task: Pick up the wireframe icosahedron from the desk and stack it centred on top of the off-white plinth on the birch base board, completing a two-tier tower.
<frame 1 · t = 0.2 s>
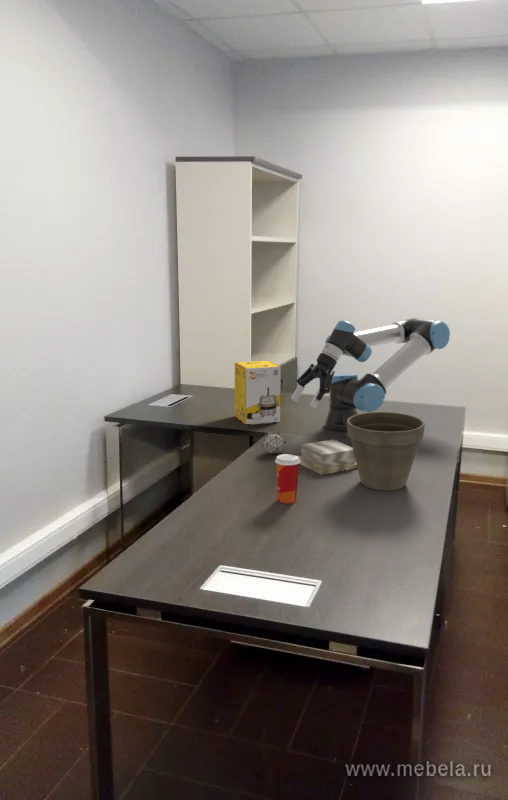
hand: (302, 403, 276), 16 cm above the table, tool tilted 35°, fingers open, 13 cm apart
plant pot: (382, 484, 234), on the table
paper cup: (286, 501, 219), on the table
packaging box: (257, 419, 318), on the table
wireframe icosahedron: (273, 454, 266), on the table
tower base: (328, 464, 255), on the table
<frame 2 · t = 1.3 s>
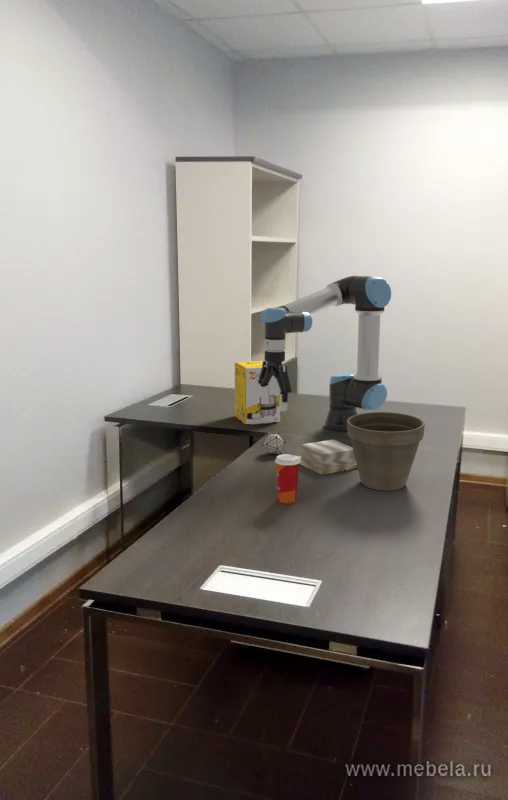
hand: (273, 407, 262), 18 cm above the table, tool pointing down, fingers open, 13 cm apart
nothing on the table moved.
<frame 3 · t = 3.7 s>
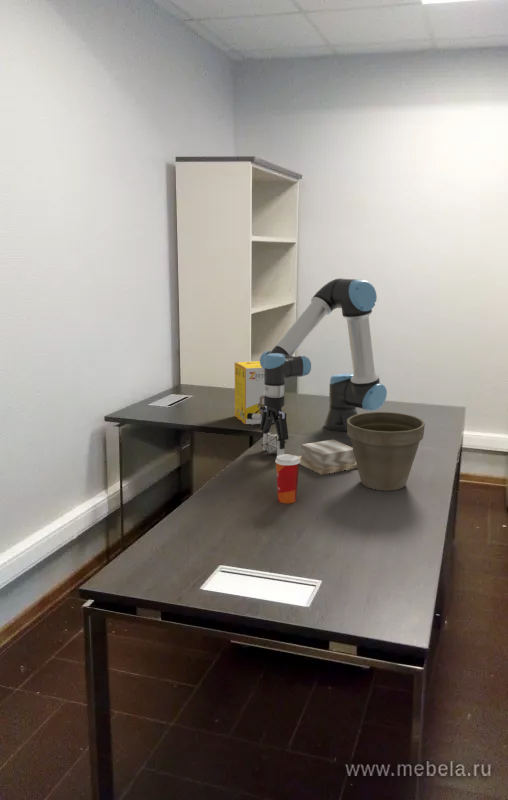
hand: (273, 453, 266), 0 cm above the table, tool pointing down, fingers closed on wireframe icosahedron, 10 cm apart
wireframe icosahedron: (273, 454, 266), on the table, touching gripper
everything else where it was.
when the fingers open (8 cm above the table, at t = 10.2 s): wireframe icosahedron drops 1 cm, resting on tower base.
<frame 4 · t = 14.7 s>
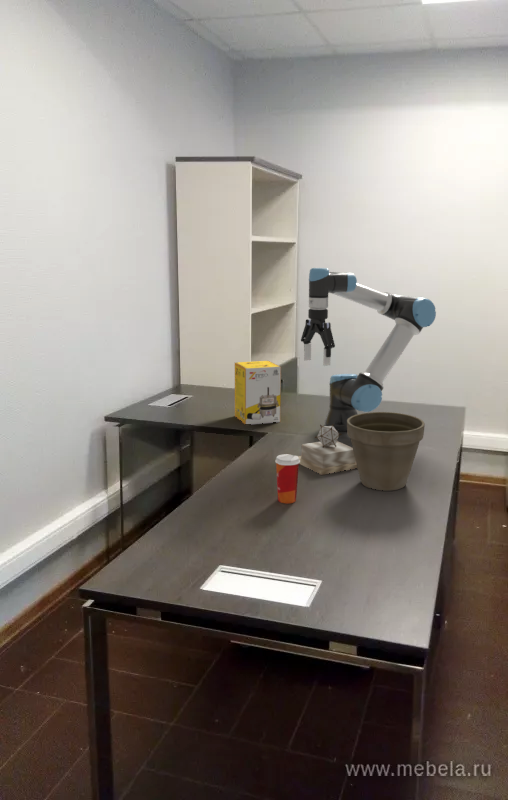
hand: (316, 362, 277), 32 cm above the table, tool pointing down, fingers open, 13 cm apart
wireframe icosahedron: (327, 447, 253), point 6 cm above the table, touching tower base
everything else where it was.
at the end: wireframe icosahedron inside the target area on the tower base (0.4 cm from its centre), point 6.3 cm above the tower base's base; wireframe icosahedron tilted 1°; the gripper is holding nothing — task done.
